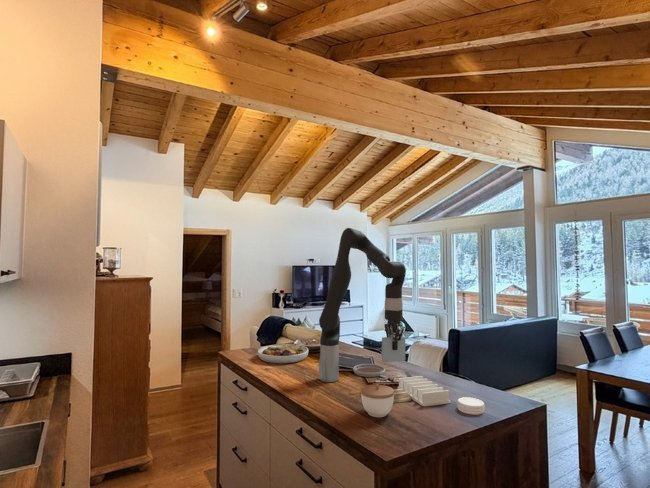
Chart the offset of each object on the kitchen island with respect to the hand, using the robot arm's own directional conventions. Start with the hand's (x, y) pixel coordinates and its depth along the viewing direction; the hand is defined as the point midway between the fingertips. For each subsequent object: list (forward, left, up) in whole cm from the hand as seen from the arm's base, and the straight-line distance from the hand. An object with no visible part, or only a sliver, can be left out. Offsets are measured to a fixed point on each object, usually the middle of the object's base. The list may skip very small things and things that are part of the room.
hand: (393, 349), depth 165 cm
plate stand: (0, 0, -21) cm, 21 cm away
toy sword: (+7, +33, -22) cm, 40 cm away
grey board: (0, 0, -5) cm, 5 cm away
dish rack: (+14, 0, -21) cm, 25 cm away
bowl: (-32, +80, -21) cm, 89 cm away
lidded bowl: (-13, -12, -21) cm, 28 cm away
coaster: (+24, -19, -21) cm, 37 cm away
